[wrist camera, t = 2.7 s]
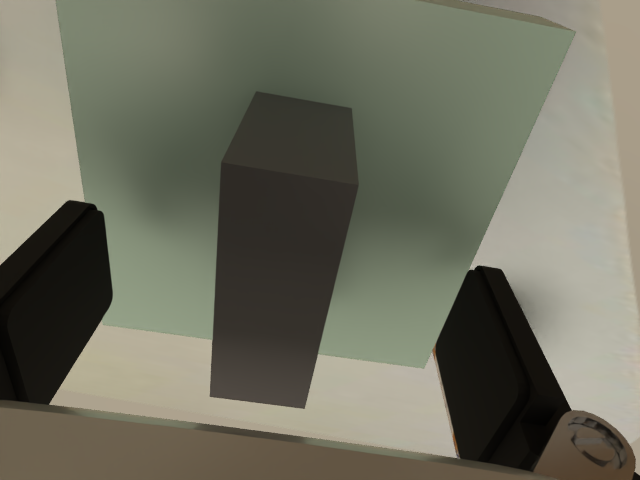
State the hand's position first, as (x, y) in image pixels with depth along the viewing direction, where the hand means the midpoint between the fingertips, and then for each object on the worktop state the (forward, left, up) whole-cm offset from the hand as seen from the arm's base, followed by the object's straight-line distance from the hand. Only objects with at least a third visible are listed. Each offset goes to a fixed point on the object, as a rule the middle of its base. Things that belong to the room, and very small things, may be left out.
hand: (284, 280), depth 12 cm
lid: (0, 0, -5) cm, 5 cm away
